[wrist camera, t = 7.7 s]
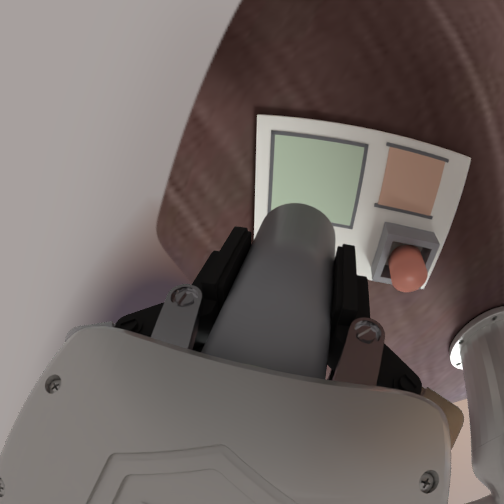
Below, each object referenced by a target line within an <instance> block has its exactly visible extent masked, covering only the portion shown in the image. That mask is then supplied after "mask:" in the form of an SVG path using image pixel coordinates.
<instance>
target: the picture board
mask: <svg viewBox="0 0 504 504" xmlns="http://www.w3.org/2000/svg"><path fill="white" fill-rule="evenodd" d="M470 161H471V158H470V157H468V156H465V155H463V154H460V153H457V152H454V151H451V150H448V149H445V148H442V147H439V146H436V145H432V144H429V143H426V142H422V141H419V140H415V139H411V138H408V137H404V136H400V135H396V134H392V133H387V132H383V131H378V130H374V129H369V128H364V127H359V126H354V125H348V124H342V123H336V122H329V121H323V120H315V119H307V118H299V117H289V116H278V115H265V114H258V115H257V138H256V178H255V218H254V239H255V237H256V234H257V232H258V230H259V228H260V226H261V224H262V222H263V220H264V218H265V217H266V215H267V214H268V213H269V212H270V211H272V210H273V209H275V208H276V207H278V206H281V205H284V204H289V203H302V204H306V205H309V206H312V207H314V208H316V209H318V210H320V211H321V212H322V213H323V214H325V215H326V216H327V218H328V219H329V220H330V222H331V223H332V225H333V227H334V230H335V236H336V243H335V256H336V252H337V248H338V246H341V247H342V245H343V244H348V245H354V246H355V253H356V269H357V275H360V276H366V277H367V279H368V280H372V281H376V282H382V283H387V284H392V281H391V275H390V270H389V264H388V259H389V256H390V254H391V252H392V251H393V250H394V249H395V248H397V247H399V246H401V245H406V244H408V245H413V246H415V247H417V248H418V249H419V250H420V252H421V255H422V257H423V260H424V263H425V266H426V269H427V272H428V276H427V279H426V282H425V283H424V284H423V285H422V286H421V287H420V288H419V289H424V287H425V285H426V283H427V281H428V279H429V277H430V275H431V272H432V270H433V268H434V266H435V264H436V261H437V259H438V257H439V254H440V252H441V250H442V247H443V245H444V242H445V240H446V237H447V235H448V232H449V229H450V227H451V224H452V221H453V218H454V216H455V213H456V210H457V207H458V204H459V201H460V197H461V194H462V191H463V188H464V184H465V181H466V177H467V173H468V169H469V166H470Z"/></svg>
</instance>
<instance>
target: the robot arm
mask: <svg viewBox="0 0 504 504" xmlns="http://www.w3.org/2000/svg"><path fill="white" fill-rule="evenodd" d="M250 247H251V232H249V231H248V230H247V228H243V227H236V226H235V227H234V229H233V230H232V232H231V233H230V235H229V237H228V238H227V240H226V242H225V243H224V245H223V246H222V248H221V250H220V251H213V252H212V253H211V255H210V257H209V258H208V260H207V261H206V263H205V264H204V266H203V268H202V269H201V271H200V272H199V274H198V276H197V277H196V279H195V280H194V282H193V284H192V285H190V284H183V285H179V286H176V287H174V288H173V289H172V290H170V292H169V293H168V295H167V297H166V300H165V302H164V303H161V304H158V305H155V306H152V307H149V308H146V309H143V310H140V311H137V312H135V313H132V314H128V315H126V316H124V317H122V318H120V319H119V320H118V322H117V323H115V324H113V322H112V321H111V322H104V323H98V324H91V325H84V326H78V327H74V328H73V329H71V330H70V331H69V332H68V334H67V336H66V340H65V343H64V345H63V346H62V347H61V348H60V349H59V351H58V352H57V353H56V355H55V356H54V357H53V359H52V360H51V362H50V363H49V364H48V366H47V367H46V369H45V370H44V372H43V373H42V375H41V376H40V378H39V380H38V381H37V383H36V384H35V386H34V388H33V389H32V391H31V393H30V395H29V396H28V398H27V400H26V402H25V403H24V405H23V407H22V409H21V411H20V413H19V415H18V417H17V419H16V421H15V423H14V425H13V427H12V429H11V431H10V433H9V435H8V438H7V440H6V443H5V445H4V447H3V450H2V452H1V455H0V504H448V496H449V487H450V476H451V449H452V447H453V445H454V443H455V441H456V439H457V437H458V435H459V433H460V430H461V428H462V426H463V422H464V416H463V413H462V411H461V410H460V409H459V408H458V407H457V406H455V405H454V404H453V403H451V402H450V401H448V400H447V399H445V398H444V397H442V396H441V395H439V394H438V393H436V392H435V391H433V390H432V389H430V388H429V387H427V388H426V389H425V388H424V387H422V383H421V381H420V378H419V377H418V376H417V375H416V374H415V373H414V372H413V371H412V370H411V369H410V368H409V367H408V366H407V365H406V364H405V363H404V362H403V361H402V360H401V359H400V358H399V357H398V356H397V355H396V354H395V353H394V352H393V351H392V350H391V349H390V348H389V347H387V346H386V345H385V344H384V339H385V332H384V329H383V327H382V326H381V325H380V323H378V322H377V321H375V320H373V319H371V318H370V307H369V292H368V280H367V277H366V276H360V275H357V269H356V253H355V246H354V245H348V244H343V245H342V247H341V246H338V248H337V252H336V256H335V261H334V282H333V299H332V312H331V324H330V325H331V331H330V342H329V351H328V360H327V365H328V366H329V367H330V368H331V370H330V373H329V376H328V378H327V380H325V379H319V378H312V377H306V376H301V375H295V374H290V373H285V372H280V371H275V370H270V369H265V368H260V367H256V366H251V365H247V364H243V363H239V362H235V361H231V360H227V359H223V358H219V357H215V356H211V355H208V354H204V353H201V351H202V349H203V347H204V345H205V343H206V341H207V338H208V336H209V334H210V332H211V330H212V328H213V326H214V324H215V321H216V319H217V317H218V315H219V313H220V311H221V309H222V307H223V304H224V302H225V300H226V298H227V296H228V294H229V292H230V290H231V287H232V285H233V283H234V281H235V279H236V277H237V275H238V273H239V270H240V268H241V266H242V264H243V262H244V260H245V258H246V256H247V253H248V251H249V249H250ZM449 356H450V361H451V363H452V364H453V366H455V367H457V368H459V369H463V374H464V380H465V386H466V393H467V400H468V409H469V418H470V431H471V452H472V454H471V455H472V469H473V472H474V474H475V476H476V477H477V478H478V479H479V480H480V481H481V482H482V483H483V484H484V485H485V486H486V487H488V489H489V490H490V491H491V494H490V495H488V496H486V497H483V498H481V499H479V500H476V501H473V502H469V503H466V504H504V306H501V307H497V308H494V309H491V310H489V311H487V312H485V313H483V314H481V315H479V316H478V317H476V318H475V319H473V320H472V321H470V322H469V323H468V324H467V325H466V326H465V327H464V328H463V329H462V330H461V331H460V332H459V333H458V334H457V335H456V337H455V338H454V340H453V341H452V343H451V346H450V349H449Z"/></svg>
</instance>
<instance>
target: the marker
mask: <svg viewBox="0 0 504 504" xmlns="http://www.w3.org/2000/svg"><path fill="white" fill-rule="evenodd" d="M335 243H336V236H335V230H334V227H333V225H332V223H331V222H330V220H329V219H328V218H327V216H326V215H325V214H323V213H322V212H321V211H320V210H318V209H316V208H314V207H312V206H309V205H306V204H302V203H289V204H284V205H281V206H278V207H276V208H275V209H273V210H272V211H270V212H269V213H268V214H267V215H266V217H265V218H264V220H263V222H262V224H261V226H260V228H259V230H258V232H257V234H256V237H255V239H254V241H253V243H252V245H251V247H250V249H249V251H248V253H247V256H246V258H245V260H244V262H243V264H242V266H241V268H240V270H239V273H238V275H237V277H236V279H235V281H234V283H233V285H232V287H231V290H230V292H229V294H228V296H227V298H226V300H225V302H224V304H223V307H222V309H221V311H220V313H219V315H218V317H217V319H216V321H215V324H214V326H213V328H212V330H211V332H210V334H209V336H208V338H207V341H206V343H205V345H204V347H203V349H202V351H201V353H204V354H208V355H211V356H215V357H219V358H223V359H227V360H231V361H235V362H239V363H243V364H247V365H251V366H256V367H260V368H265V369H270V370H275V371H280V372H285V373H290V374H295V375H301V376H306V377H312V378H319V379H325V376H326V369H327V360H328V351H329V342H330V331H331V325H330V324H331V312H332V299H333V282H334V261H335Z"/></svg>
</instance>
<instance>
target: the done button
mask: <svg viewBox="0 0 504 504" xmlns="http://www.w3.org/2000/svg"><path fill="white" fill-rule="evenodd" d="M388 264H389V270H390V275H391V281H392V284H393V286H394V287H395V288H396V289H397V290H399V291H401V292H412V291H415V290H417V289H419V288H420V287H421V286H422V285H423V284H424V283H425V282H426V279H427V276H428V272H427V269H426V266H425V263H424V260H423V257H422V255H421V252H420V250H419V249H418V248H417V247H415V246H413V245H408V244H406V245H401V246H399V247H397V248H395V249H394V250H393V251H392V252H391V254H390V256H389V259H388Z"/></svg>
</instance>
